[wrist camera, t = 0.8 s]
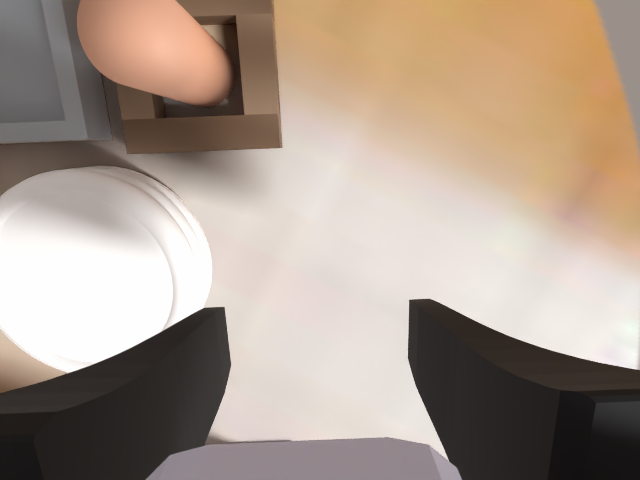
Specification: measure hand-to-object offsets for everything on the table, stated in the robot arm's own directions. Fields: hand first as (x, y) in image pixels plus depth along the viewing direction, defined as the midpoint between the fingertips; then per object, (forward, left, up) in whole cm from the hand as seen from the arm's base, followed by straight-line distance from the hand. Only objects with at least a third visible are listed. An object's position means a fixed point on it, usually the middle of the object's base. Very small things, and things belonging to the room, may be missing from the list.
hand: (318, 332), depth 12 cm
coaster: (0, +11, -9) cm, 14 cm away
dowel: (+9, +5, -8) cm, 13 cm away
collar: (+9, +5, -8) cm, 13 cm away
